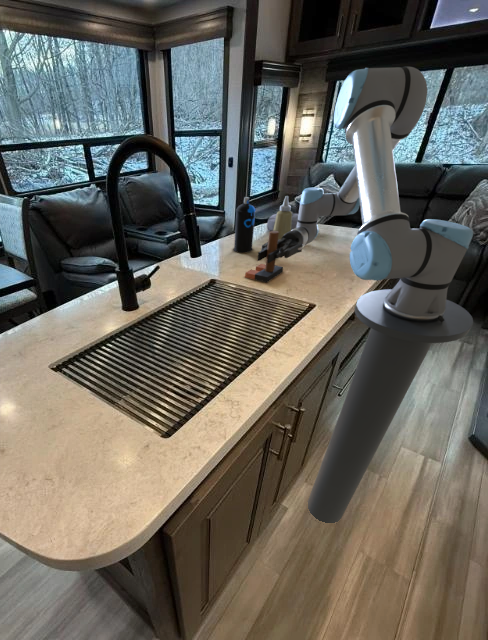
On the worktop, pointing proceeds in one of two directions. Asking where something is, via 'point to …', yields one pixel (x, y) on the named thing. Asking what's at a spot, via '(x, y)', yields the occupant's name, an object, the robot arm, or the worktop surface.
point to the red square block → (251, 274)
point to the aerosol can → (244, 227)
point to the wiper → (270, 268)
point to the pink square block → (260, 267)
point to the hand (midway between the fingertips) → (263, 257)
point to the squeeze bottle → (283, 219)
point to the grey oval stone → (272, 219)
